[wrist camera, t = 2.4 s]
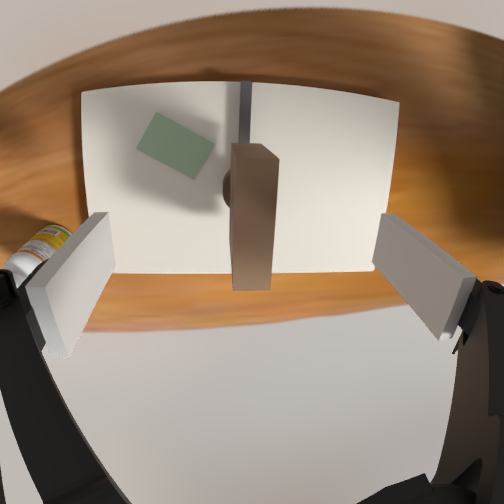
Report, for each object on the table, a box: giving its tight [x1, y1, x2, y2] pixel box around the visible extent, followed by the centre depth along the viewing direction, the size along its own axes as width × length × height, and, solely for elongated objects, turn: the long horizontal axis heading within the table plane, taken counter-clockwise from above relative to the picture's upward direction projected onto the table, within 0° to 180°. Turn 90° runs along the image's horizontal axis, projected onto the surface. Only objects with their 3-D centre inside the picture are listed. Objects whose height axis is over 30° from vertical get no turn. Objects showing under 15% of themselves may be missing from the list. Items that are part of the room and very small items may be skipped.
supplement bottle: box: [4, 225, 72, 288], centre depth 23 cm, size 5×5×10 cm
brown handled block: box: [223, 81, 280, 291], centre depth 19 cm, size 12×3×10 cm, turn 178°
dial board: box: [81, 81, 399, 274], centre depth 25 cm, size 26×16×2 cm, turn 88°
